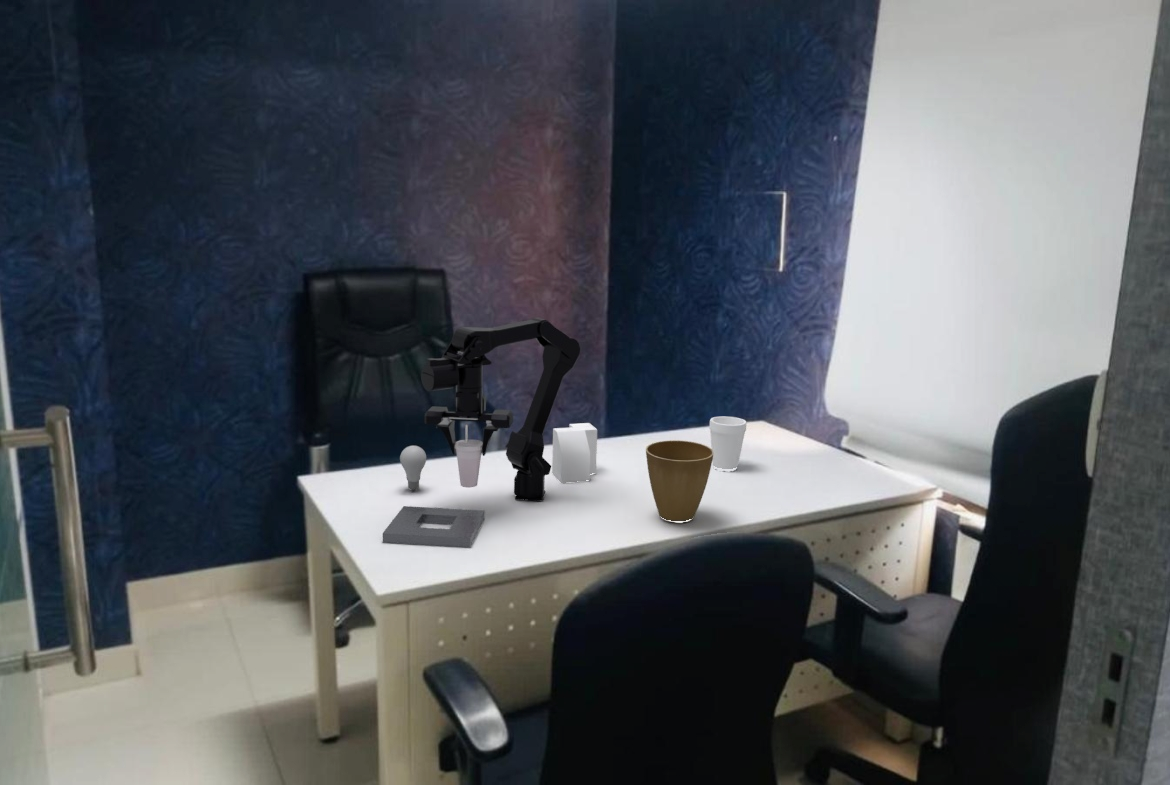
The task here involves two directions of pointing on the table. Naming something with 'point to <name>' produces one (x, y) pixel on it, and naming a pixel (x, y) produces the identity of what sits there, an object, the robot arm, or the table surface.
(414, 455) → the lightbulb
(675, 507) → the plant pot
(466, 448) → the smoothie
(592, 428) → the white block
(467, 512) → the square plate with hole
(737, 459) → the foam cup
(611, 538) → the table surface
